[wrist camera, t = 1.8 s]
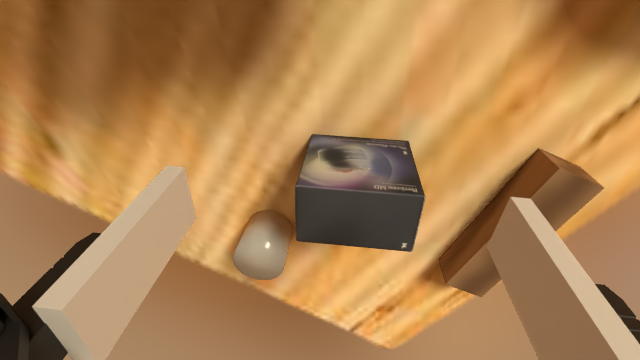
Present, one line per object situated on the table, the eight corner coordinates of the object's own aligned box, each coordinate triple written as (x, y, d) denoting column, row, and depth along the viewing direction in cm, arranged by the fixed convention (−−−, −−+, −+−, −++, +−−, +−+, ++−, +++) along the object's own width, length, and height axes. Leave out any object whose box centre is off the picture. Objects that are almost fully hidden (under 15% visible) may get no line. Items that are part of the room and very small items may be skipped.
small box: (411, 136, 33) (430, 194, 24) (401, 188, 37) (414, 255, 28) (310, 130, 34) (293, 184, 25) (310, 181, 38) (295, 244, 29)
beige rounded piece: (243, 235, 43) (228, 269, 38) (254, 203, 40) (239, 236, 35) (284, 250, 44) (275, 286, 39) (299, 220, 41) (290, 254, 36)
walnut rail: (438, 259, 42) (445, 284, 39) (538, 148, 32) (559, 168, 29) (471, 271, 43) (481, 297, 39) (579, 166, 33) (604, 187, 30)
